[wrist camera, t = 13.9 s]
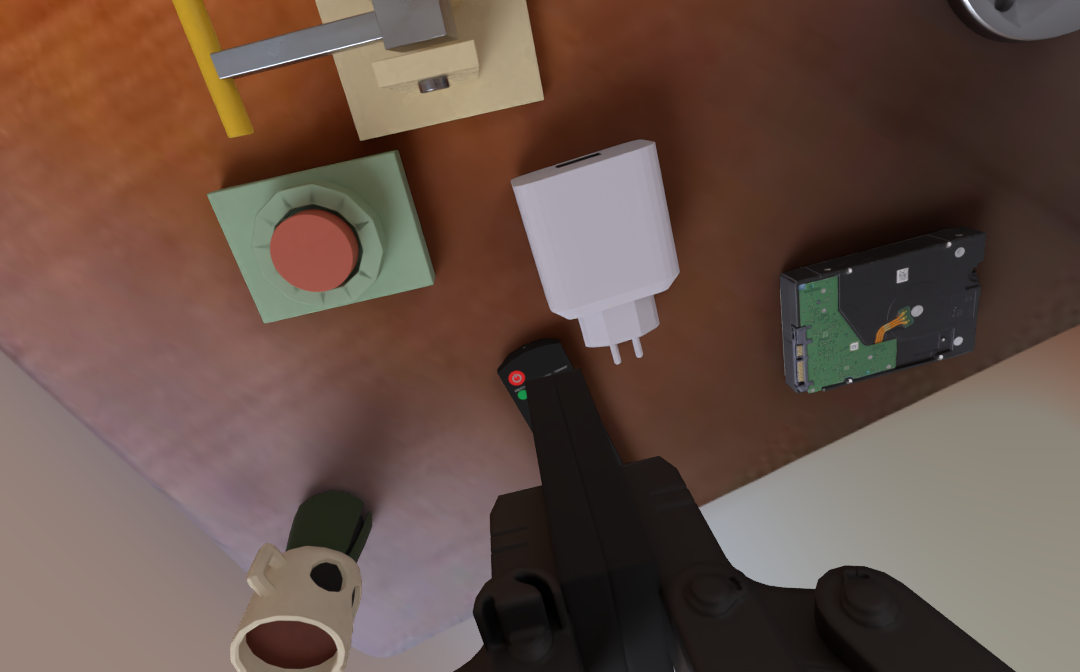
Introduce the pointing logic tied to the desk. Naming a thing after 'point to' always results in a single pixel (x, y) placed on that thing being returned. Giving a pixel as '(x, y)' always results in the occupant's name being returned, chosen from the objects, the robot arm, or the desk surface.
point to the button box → (353, 195)
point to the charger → (602, 240)
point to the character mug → (305, 591)
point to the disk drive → (881, 310)
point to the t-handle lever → (307, 45)
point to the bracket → (440, 69)
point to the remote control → (535, 372)
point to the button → (314, 250)
